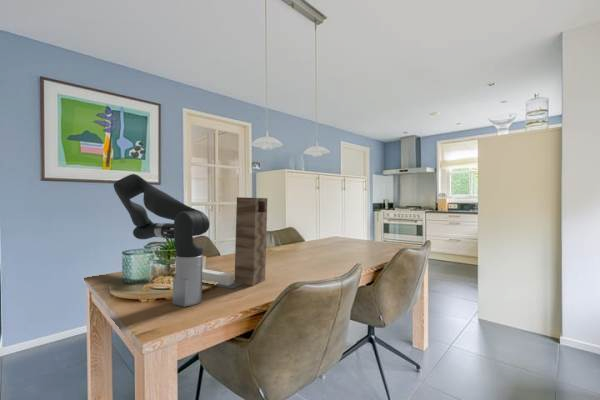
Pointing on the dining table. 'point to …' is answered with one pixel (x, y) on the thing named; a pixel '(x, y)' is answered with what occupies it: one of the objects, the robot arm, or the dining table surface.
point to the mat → (230, 285)
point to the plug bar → (218, 277)
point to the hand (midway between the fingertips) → (191, 232)
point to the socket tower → (250, 240)
